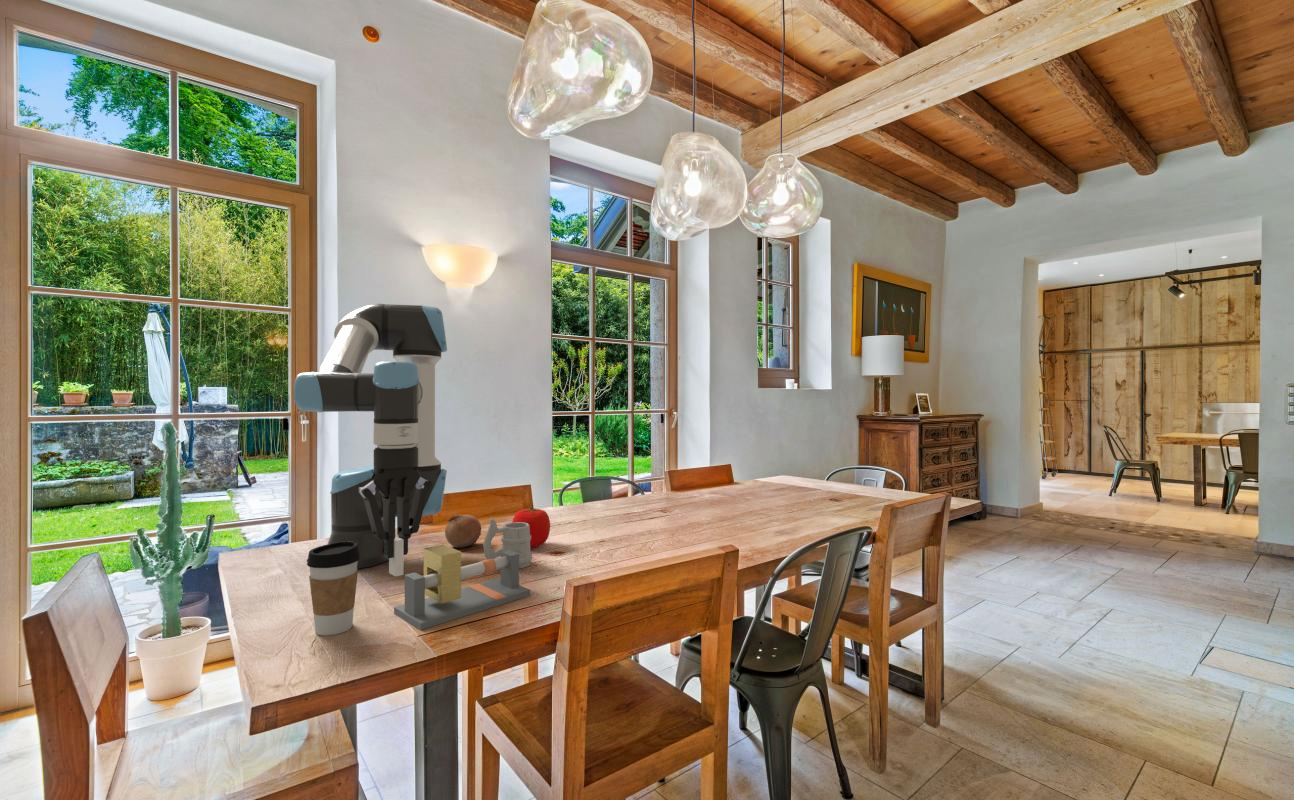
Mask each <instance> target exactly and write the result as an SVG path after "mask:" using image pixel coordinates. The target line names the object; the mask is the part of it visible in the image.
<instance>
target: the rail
mask: <svg viewBox="0 0 1294 800" xmlns="http://www.w3.org/2000/svg"><path fill="white" fill-rule="evenodd" d="M499 570H500V577H499V578H496V579H491V580H487V581H483V582H480V583H476V584H471V585H468V586H466V587H461V598H460V599H456V600H453V601H450V602H446V603H443V604H441V603H439V602H437V601H435V600H433V599H432V598H430V597H426V595H425V589H427V588H430V587H434V586H438V573H434V574H430V575H426V576H424V575H421V574H419V573H417V572H411V573H407V574H404V604H400V605H397V606H396V605H395V606H394V607H393V613H394V614H395V616H398V617H400V618H401V619H403V620H404V621H405V622H407V623H408V624H410V625H411V626H413V627H415V628H416V629H417V630H420V631H422V630H425V629H428V628H431V627H435V626H437V625H440V624H441V625H442V624H444V623H447V622H451V621H454V620H457V619H460V618H464V617H466V616H469V615H472V614H476V613H478V612H482V611H485V610H488V609H493V608H494V607H498V606H501V605H505V604H506V603H507V604H508V603H510V602H514V601H517V600H521V599H524V598H526V597H530V596H531V594H532V593H531V592H532V590H531V589H530V588H527V587H525V586H523V585H520V568H519V554H518V553H515V552H512V551H510V550H507V551H503V552H501V556H499V557H497V558H495V559H492V558H491V559H484V560H480V561H479V562H475V563H472V564H468V565H464V566H461V580H464V579H468V578H472V577H475V576H478V575H479V576H480V575H487V574H491V573H494V572H495V571H499ZM425 597H426V598H425Z"/></svg>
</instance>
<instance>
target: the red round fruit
mask: <svg viewBox="0 0 1294 800" xmlns="http://www.w3.org/2000/svg"><path fill="white" fill-rule="evenodd" d="M515 522H523V523H528V524H529V526H530V535H531V540H530V549H533V548H534V549H535V548H537V547H539V546H542V545H543V544H545V543H546V541H548V538H549V535H550V531H551V521H550V517H549V514H548V513H547V511H546V510H543V509H541V508H540V509H538V508H536V507H535V508H533V507H530V508H523V509H520V510H518V511H517V512H516V513H515V514H514V516H513V519H512V521H511V523H515Z"/></svg>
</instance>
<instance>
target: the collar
mask: <svg viewBox="0 0 1294 800" xmlns="http://www.w3.org/2000/svg"><path fill="white" fill-rule="evenodd" d="M461 567H462V551H460V550H458V549H456V548H452V547H450V546H448V545H446V544H438V545H434V546H428V547H424V548H423V576H426V575H430V574H434V573H438V586H434V587H430V588H427V589H425V597H427V598H429V597H430V598H432V599H433V600H435V601H437V602H439V603H441V604H443V603H446V602H450V601H453V600H456V599H460V598H461V589H462V579H461Z"/></svg>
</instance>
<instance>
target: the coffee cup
mask: <svg viewBox="0 0 1294 800" xmlns="http://www.w3.org/2000/svg"><path fill="white" fill-rule="evenodd" d="M359 556H360V553H359V549H358V543H357V542H354V541H341V542H336V543H331V544H328V543H326V544H324V545H319V546H317V547H314V548H312V549H310V550H309V552H308V557H307V559H306V566H307V567H309V573H310V575H309V579H308V580H309V586H310V588H309V589H310V595H311V596H310V597H311V604H312V605H311V606H312V613H313V619H314V623H313V624H314V632H315V634H316V635H319V636H322V637H323V636H327V637H329V636H334V635H339V634H342V633H345V632H347V631H349V630H351V628H353V624H354V623H353V622H354V610H355V602H356V601H355V600H356V593H357V592H356V591H357V583H358V574H359V573H358V571H359V570H358V569H359V568H358V569H357V561H358V560H359V559H360V557H359Z"/></svg>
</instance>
